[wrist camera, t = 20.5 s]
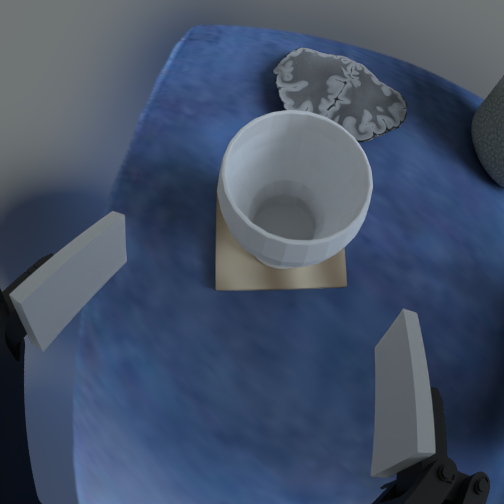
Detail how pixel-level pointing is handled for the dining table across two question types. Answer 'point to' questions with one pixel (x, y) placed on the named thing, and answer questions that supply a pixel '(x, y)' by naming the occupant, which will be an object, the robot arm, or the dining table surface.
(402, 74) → the dining table surface
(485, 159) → the planter
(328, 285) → the oak board
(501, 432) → the dining table surface
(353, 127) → the brain slice
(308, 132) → the cup
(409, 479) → the robot arm
